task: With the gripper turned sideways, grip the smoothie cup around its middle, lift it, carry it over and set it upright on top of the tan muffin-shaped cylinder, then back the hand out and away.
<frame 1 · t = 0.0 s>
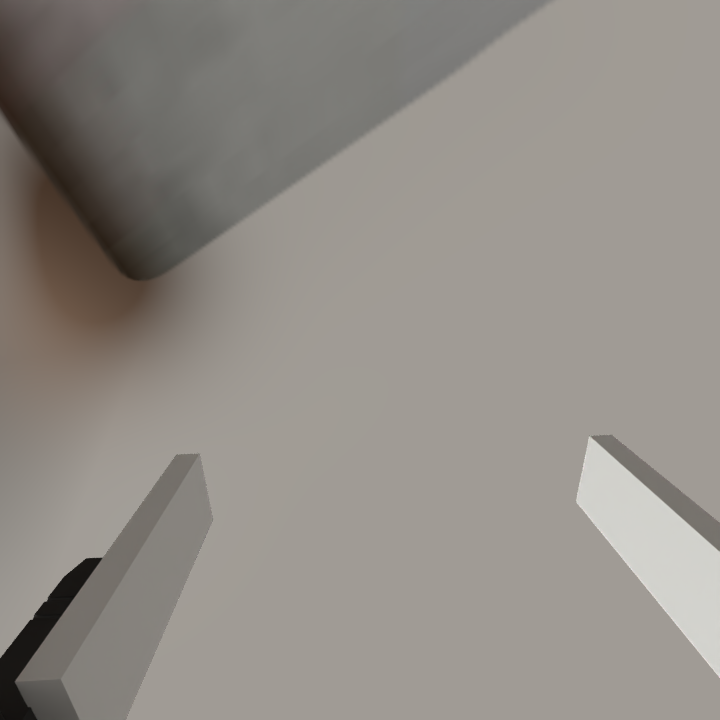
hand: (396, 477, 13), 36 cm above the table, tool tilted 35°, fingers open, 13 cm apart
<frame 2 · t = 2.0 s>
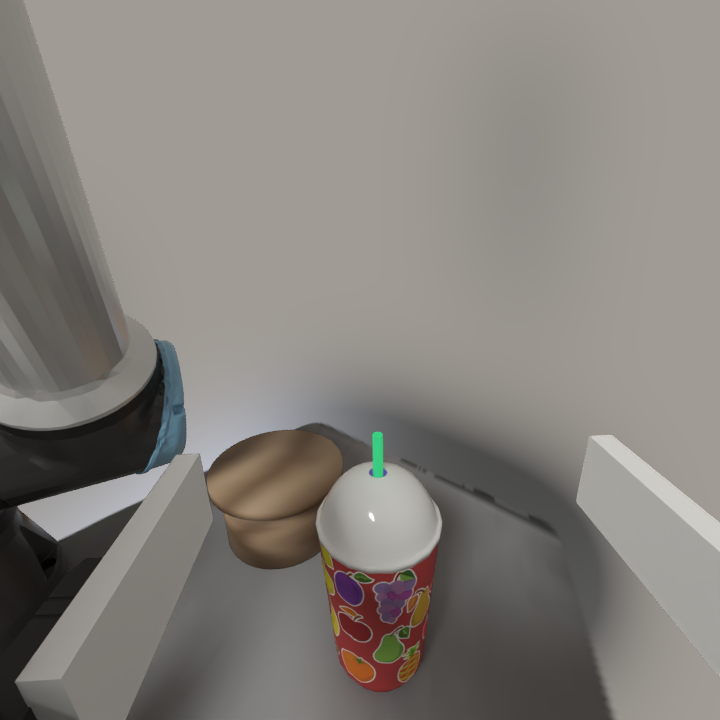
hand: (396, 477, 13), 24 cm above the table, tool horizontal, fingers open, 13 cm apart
smoothie: (379, 653, 31), on the table
tan muffin-shaped cylinder: (283, 523, 44), on the table
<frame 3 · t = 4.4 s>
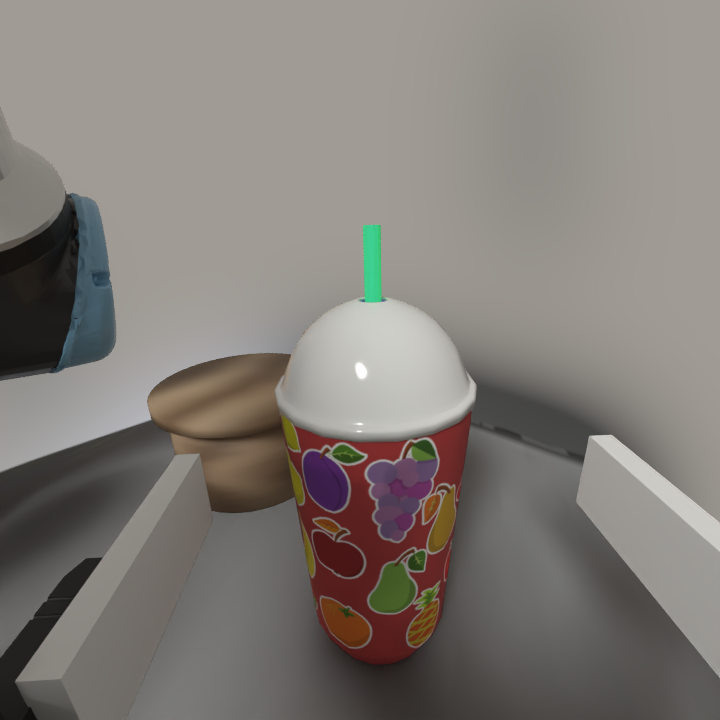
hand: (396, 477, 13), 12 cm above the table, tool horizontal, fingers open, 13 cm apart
smoothie: (378, 612, 21), on the table
tan muffin-shaped cylinder: (255, 464, 34), on the table
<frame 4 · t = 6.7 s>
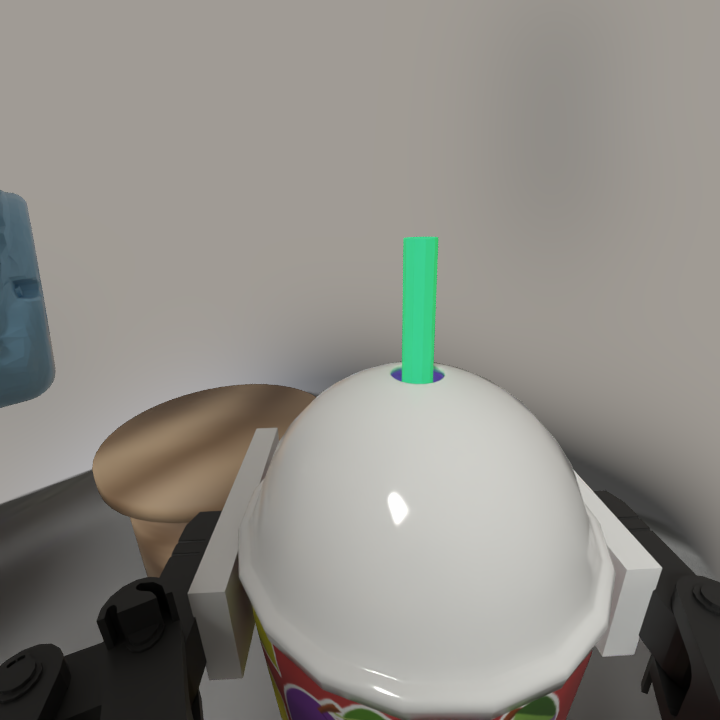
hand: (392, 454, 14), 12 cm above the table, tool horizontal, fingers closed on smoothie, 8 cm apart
tan muffin-shaped cylinder: (239, 527, 27), on the table
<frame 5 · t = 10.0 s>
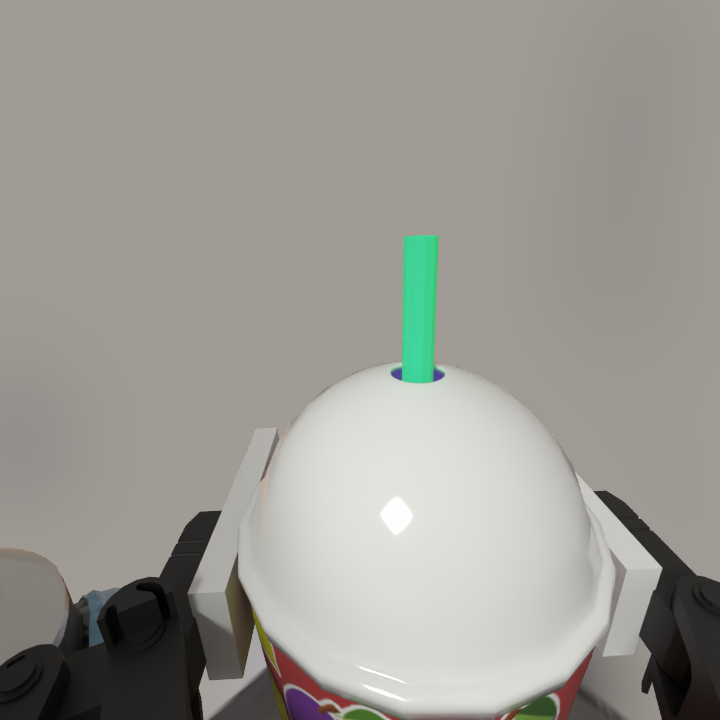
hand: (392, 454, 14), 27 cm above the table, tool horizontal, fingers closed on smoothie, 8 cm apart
when the fingers open (22 cm above the table, at t = 13.5 s): smoothie drops 2 cm, resting on tan muffin-shaped cylinder.
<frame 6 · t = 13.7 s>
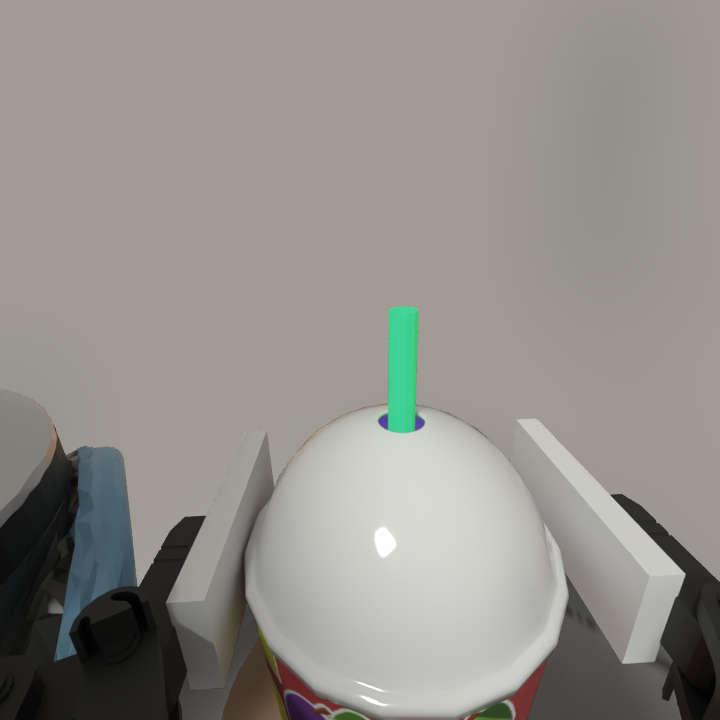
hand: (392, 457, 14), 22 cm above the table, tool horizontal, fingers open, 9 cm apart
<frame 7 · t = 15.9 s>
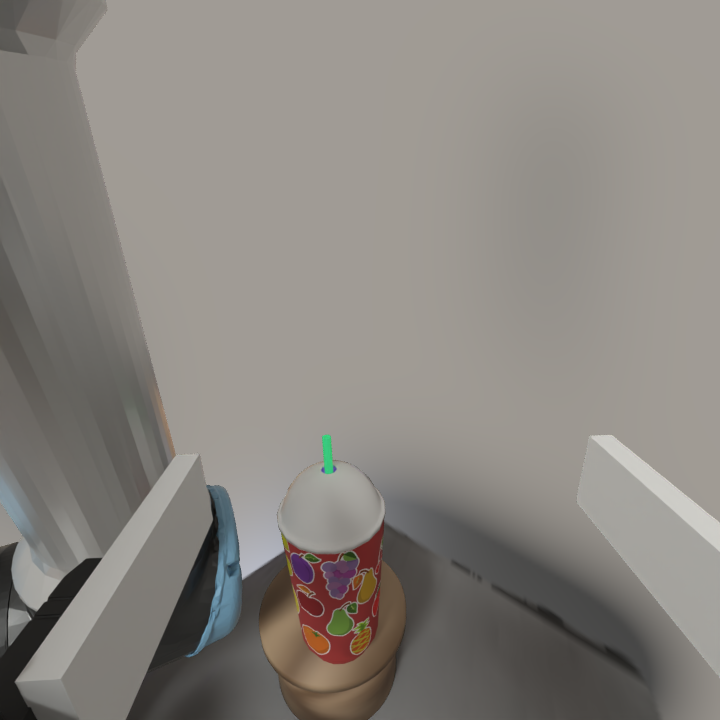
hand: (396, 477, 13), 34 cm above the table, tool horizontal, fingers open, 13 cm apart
smoothie: (340, 632, 35), point 8 cm above the table, touching tan muffin-shaped cylinder
tan muffin-shaped cylinder: (337, 659, 40), on the table
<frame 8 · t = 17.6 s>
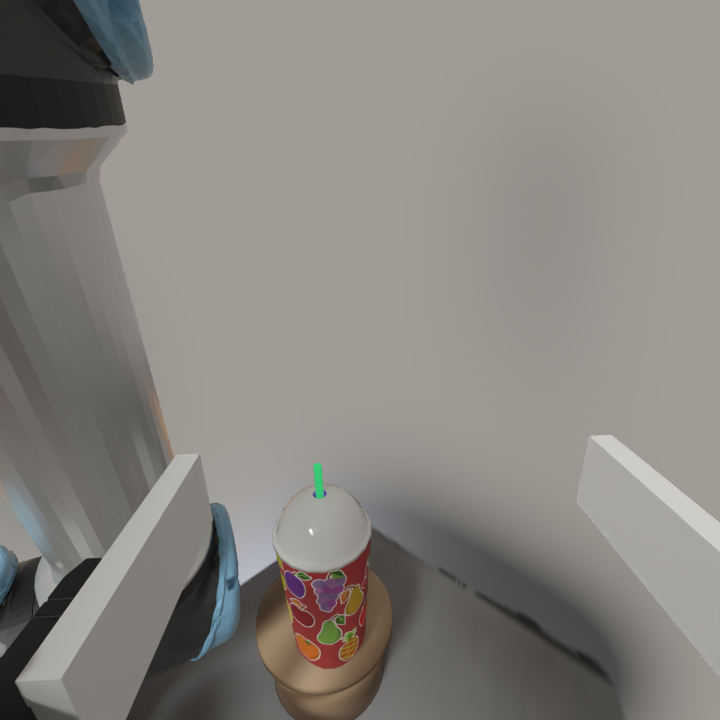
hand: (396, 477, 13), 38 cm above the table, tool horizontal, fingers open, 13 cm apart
smoothie: (331, 639, 38), point 8 cm above the table, touching tan muffin-shaped cylinder
tan muffin-shaped cylinder: (329, 662, 43), on the table
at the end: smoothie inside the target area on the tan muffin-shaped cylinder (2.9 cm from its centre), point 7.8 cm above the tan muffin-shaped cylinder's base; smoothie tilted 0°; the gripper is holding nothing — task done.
